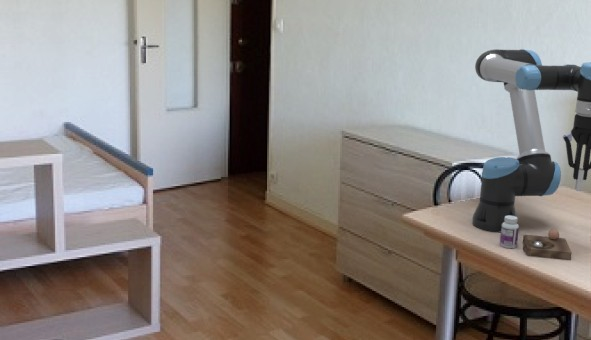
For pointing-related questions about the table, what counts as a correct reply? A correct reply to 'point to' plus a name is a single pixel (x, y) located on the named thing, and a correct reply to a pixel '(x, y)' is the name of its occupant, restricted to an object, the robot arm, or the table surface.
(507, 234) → the pill bottle
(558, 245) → the brown flat square slab
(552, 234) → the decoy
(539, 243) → the ball
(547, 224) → the table surface
